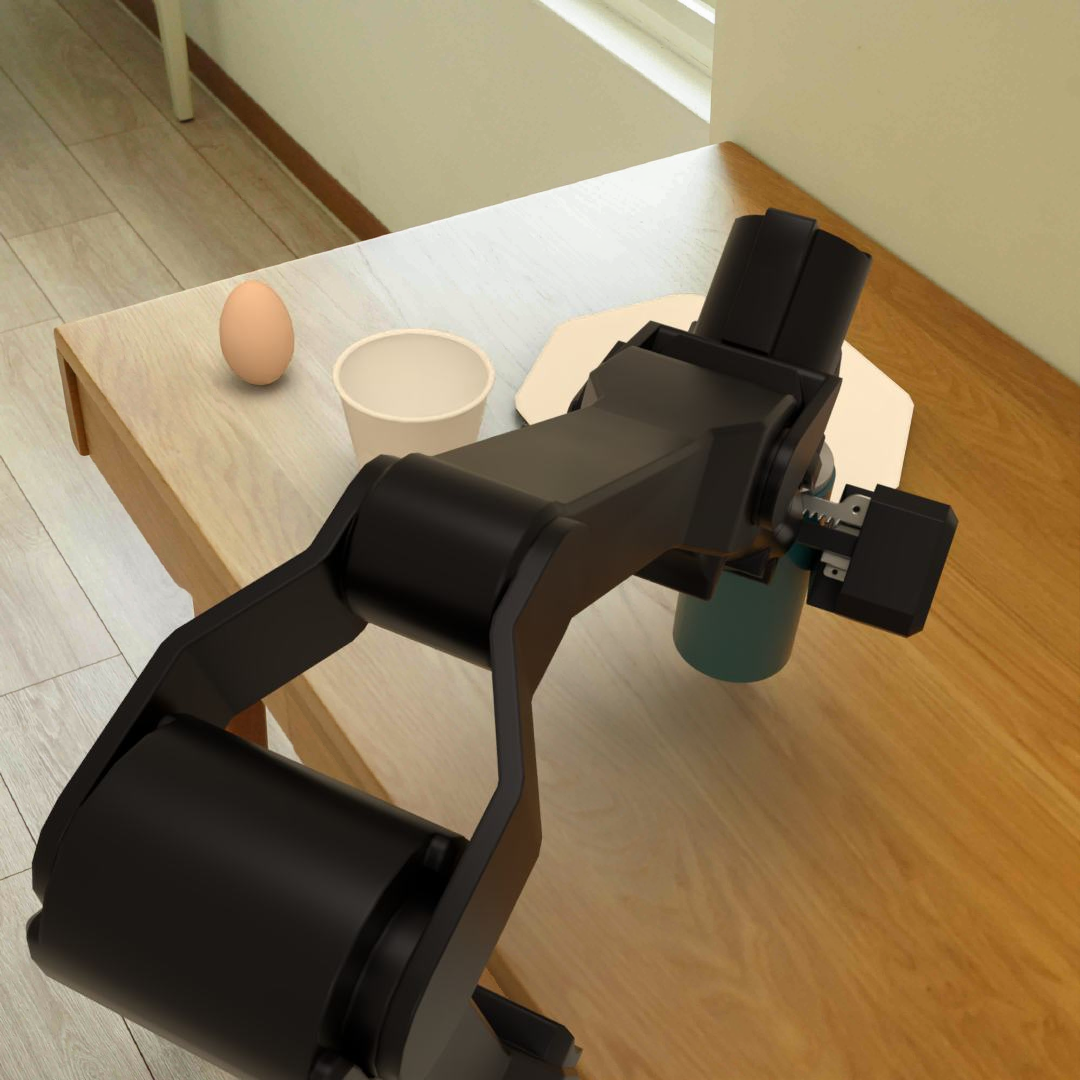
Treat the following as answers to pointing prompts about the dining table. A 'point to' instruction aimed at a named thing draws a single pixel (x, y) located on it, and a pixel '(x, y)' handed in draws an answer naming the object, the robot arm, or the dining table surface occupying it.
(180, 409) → the dining table surface
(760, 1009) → the dining table surface
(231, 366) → the egg
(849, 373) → the plate
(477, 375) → the cup
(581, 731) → the dining table surface
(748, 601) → the can
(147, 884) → the robot arm
